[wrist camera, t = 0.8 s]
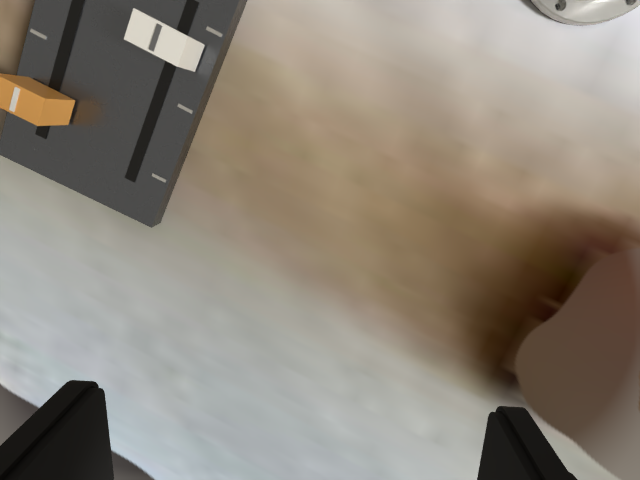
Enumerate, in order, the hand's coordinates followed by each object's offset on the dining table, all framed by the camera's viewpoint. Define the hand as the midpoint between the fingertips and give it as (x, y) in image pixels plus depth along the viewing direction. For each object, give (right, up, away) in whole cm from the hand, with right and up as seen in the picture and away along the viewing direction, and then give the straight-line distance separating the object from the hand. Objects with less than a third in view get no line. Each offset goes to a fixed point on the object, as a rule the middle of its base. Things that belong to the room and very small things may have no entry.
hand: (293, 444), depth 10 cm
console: (-18, +20, +29) cm, 40 cm away
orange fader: (-24, +18, +28) cm, 41 cm away
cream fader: (-12, +22, +26) cm, 36 cm away
